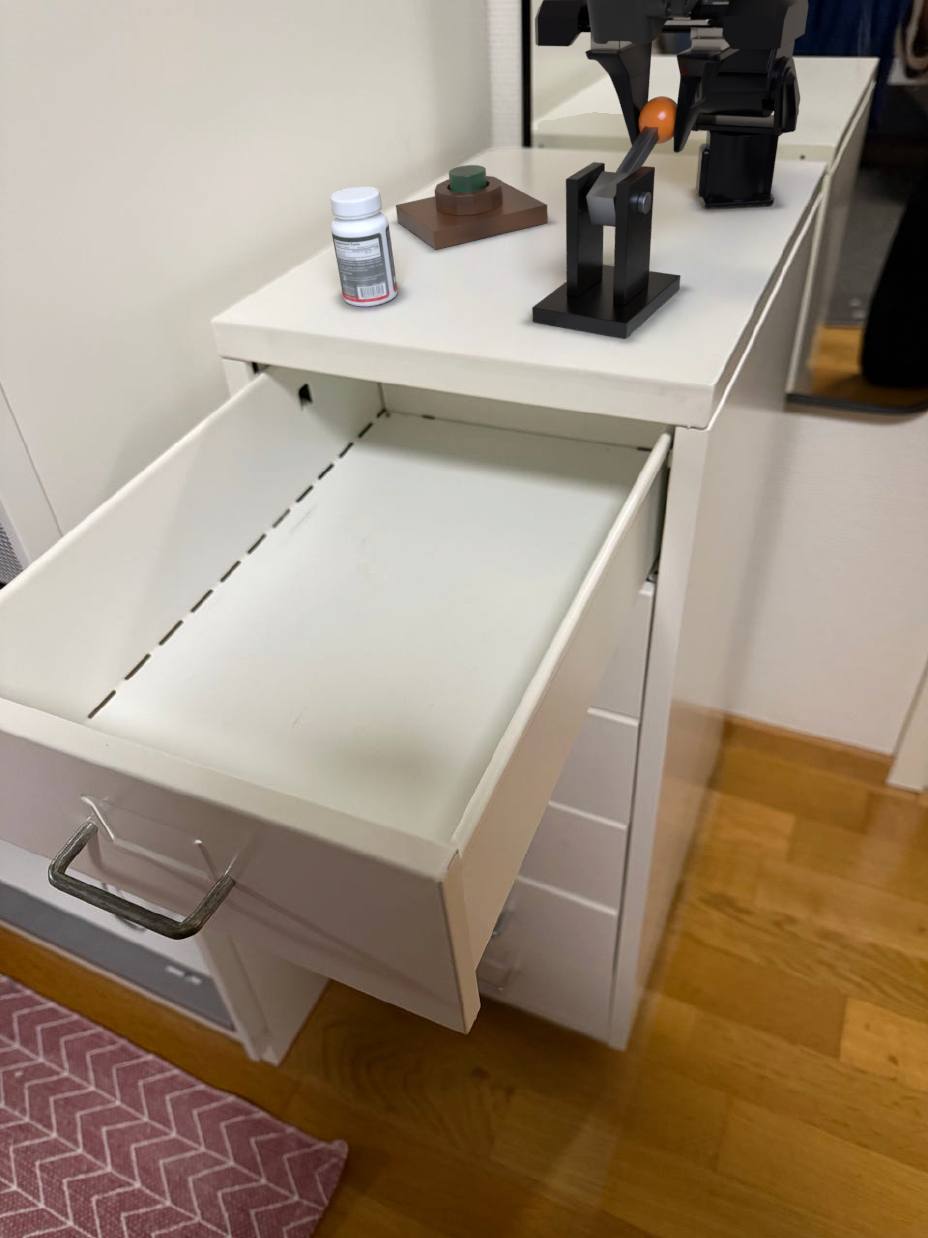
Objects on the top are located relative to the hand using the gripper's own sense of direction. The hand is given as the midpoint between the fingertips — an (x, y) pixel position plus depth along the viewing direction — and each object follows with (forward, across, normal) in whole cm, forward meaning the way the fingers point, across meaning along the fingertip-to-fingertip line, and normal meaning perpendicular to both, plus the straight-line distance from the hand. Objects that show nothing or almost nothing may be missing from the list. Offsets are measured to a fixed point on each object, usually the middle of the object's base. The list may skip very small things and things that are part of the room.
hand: (657, 149), depth 69 cm
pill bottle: (+10, -20, -14) cm, 26 cm away
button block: (+9, -22, +5) cm, 24 cm away
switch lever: (+1, 0, -3) cm, 4 cm away
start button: (+6, -22, +5) cm, 23 cm away
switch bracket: (+9, 0, -8) cm, 12 cm away
